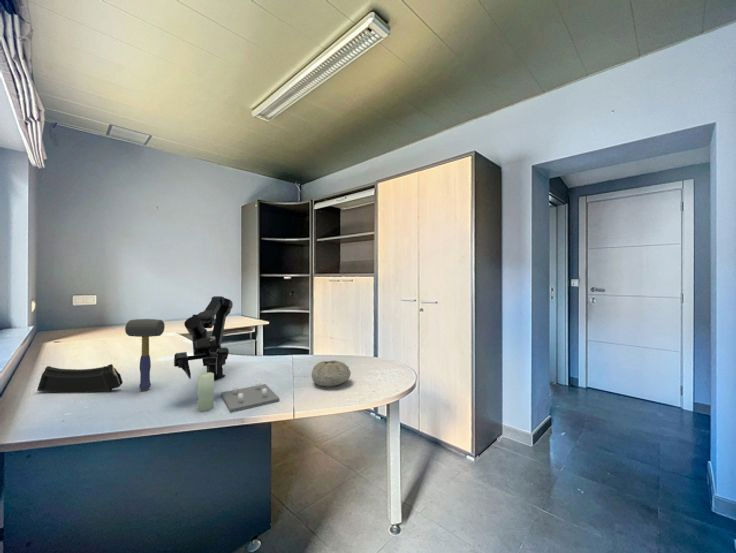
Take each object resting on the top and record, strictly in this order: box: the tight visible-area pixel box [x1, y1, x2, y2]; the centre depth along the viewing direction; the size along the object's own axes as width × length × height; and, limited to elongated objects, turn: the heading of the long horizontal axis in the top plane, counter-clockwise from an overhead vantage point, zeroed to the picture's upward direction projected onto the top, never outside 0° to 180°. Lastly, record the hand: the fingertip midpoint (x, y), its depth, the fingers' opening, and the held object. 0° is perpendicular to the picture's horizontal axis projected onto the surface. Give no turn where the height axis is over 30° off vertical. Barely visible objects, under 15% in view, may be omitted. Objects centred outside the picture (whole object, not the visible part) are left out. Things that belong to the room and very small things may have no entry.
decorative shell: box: [311, 360, 352, 387], centre depth 142 cm, size 18×18×10 cm
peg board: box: [220, 381, 280, 413], centre depth 124 cm, size 18×18×4 cm
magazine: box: [36, 363, 124, 394], centre depth 127 cm, size 17×3×30 cm
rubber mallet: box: [124, 318, 166, 391], centre depth 130 cm, size 12×8×30 cm, turn 96°
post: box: [197, 372, 215, 412], centre depth 115 cm, size 5×5×12 cm
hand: (204, 376), depth 118 cm, fingers open, 9 cm apart
